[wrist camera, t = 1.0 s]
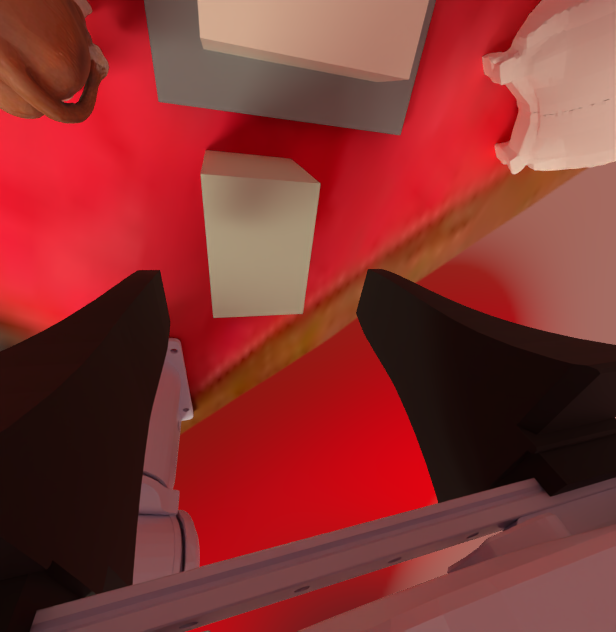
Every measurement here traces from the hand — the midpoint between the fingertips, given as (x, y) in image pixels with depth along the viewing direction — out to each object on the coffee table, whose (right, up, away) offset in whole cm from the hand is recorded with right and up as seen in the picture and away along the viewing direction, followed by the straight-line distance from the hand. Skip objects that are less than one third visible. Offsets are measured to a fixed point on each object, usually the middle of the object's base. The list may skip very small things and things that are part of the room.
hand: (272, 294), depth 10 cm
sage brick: (-2, +5, +7) cm, 9 cm away
